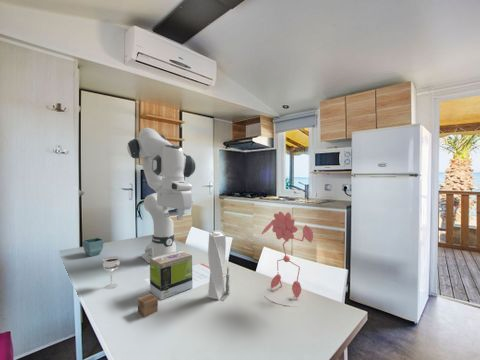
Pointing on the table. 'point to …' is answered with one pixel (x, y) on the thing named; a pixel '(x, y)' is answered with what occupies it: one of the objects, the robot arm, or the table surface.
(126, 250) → the table surface
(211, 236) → the skyscraper
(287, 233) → the figurine
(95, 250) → the flower pot
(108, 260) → the wineglass
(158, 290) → the tea box
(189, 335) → the table surface
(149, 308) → the walnut cube
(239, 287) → the table surface
